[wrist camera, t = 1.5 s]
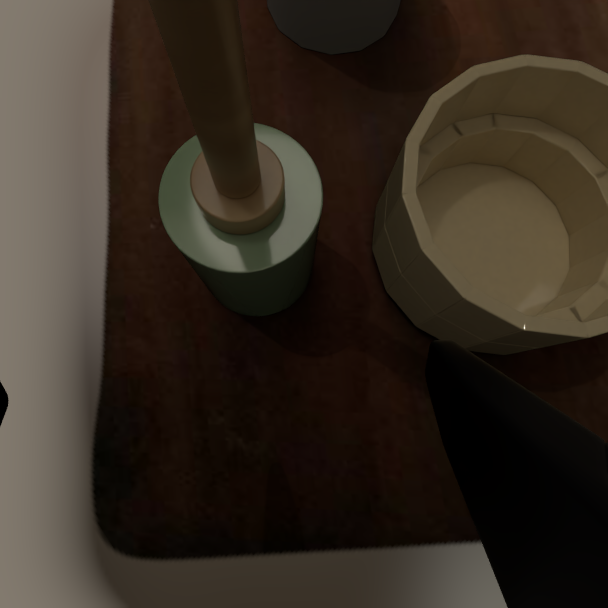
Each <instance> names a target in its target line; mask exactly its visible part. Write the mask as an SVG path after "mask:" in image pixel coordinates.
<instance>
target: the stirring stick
mask: <svg viewBox="0 0 608 608" xmlns="http://www.w3.org/2000/svg"><path fill="white" fill-rule="evenodd" d="M149 3H150V6H151V9H152V11H153V14H154V17H155V20H156V23H157V25H158V28H159V31H160V34H161V37H162V39H163V42H164V45H165V48H166V51H167V53H168V56H169V59H170V62H171V65H172V67H173V70H174V73H175V76H176V79H177V81H178V84H179V87H180V90H181V93H182V95H183V98H184V101H185V104H186V107H187V109H188V112H189V115H190V118H191V121H192V123H193V126H194V129H195V132H196V135H197V137H198V140H199V143H200V146H201V149H202V152H201V153H200V154H199V156H198V157H197V159H196V160H195V162H194V164H193V167H192V170H191V174H190V187H191V191H192V194H193V197H194V199H195V201H196V203H197V205H198V207H199V209H200V211H201V213H202V215H203V216H204V218H205V219H206V220H207V221H208V222H209V223H210V224H211V225H212V226H214V227H215V228H217V229H219V230H221V231H223V232H226V233H230V234H239V235H241V234H250V233H254V232H257V231H259V230H261V229H263V228H265V227H267V226H268V225H269V224H270V223H272V222H273V221H274V220H275V219H276V217H277V216H278V215H279V213H280V211H281V209H282V207H283V204H284V199H285V177H284V170H283V167H282V164H281V162H280V160H279V158H278V157H277V155H276V154H275V153H274V152H273V151H272V150H271V149H270V148H269V147H268V146H267V145H265V144H263V143H262V142H260V141H258V140H256V136H255V129H254V121H253V114H252V107H251V99H250V92H249V84H248V77H247V70H246V62H245V55H244V48H243V40H242V33H241V25H240V18H239V11H238V3H237V0H149Z"/></svg>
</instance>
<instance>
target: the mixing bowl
mask: <svg viewBox="0 0 608 608" xmlns="http://www.w3.org/2000/svg"><path fill="white" fill-rule="evenodd" d="M372 250H373V253H374V256H375V259H376V262H377V265H378V268H379V271H380V274H381V277H382V280H383V283H384V286H385V289H386V291H387V293H388V294H389V295H390V296H391V298H392V299H393V300H394V301H395V302H396V303H397V305H398V306H399V307H400V308H401V309H402V311H403V312H404V313H405V314H406V315H407V316H408V318H409V319H410V320H411V321H412V322H413V323H414V325H415V326H417V327H418V328H419V329H421V330H423V331H425V332H427V333H429V334H430V335H432V336H434V337H436V338H438V339H440V340H453V341H454V342H456V343H457V344H459V345H461V346H462V347H464V348H465V349H467V350H468V351H474V352H483V353H491V354H499V355H508V354H513V353H518V352H523V351H528V350H533V349H538V348H543V347H547V346H552V345H557V344H562V343H567V342H572V341H576V340H581V339H586V338H590V337H594V336H597V335H601V334H604V333H607V332H608V74H607V73H605V72H603V71H601V70H599V69H597V68H595V67H592V66H590V65H588V64H586V63H584V62H582V61H580V62H579V61H576V60H568V59H560V58H552V57H544V56H535V55H527V54H526V55H519V56H515V57H510V58H506V59H501V60H497V61H493V62H488V63H484V64H479V65H475V66H473V67H471V68H469V69H468V70H467V71H465V72H464V73H462V74H461V75H459V76H458V77H457V78H455V79H454V80H452V81H451V82H450V83H448V84H447V85H445V86H444V87H443V88H441V89H440V90H438V91H437V92H436V93H434V94H433V95H432V96H431V97H430V98H429V99H428V101H427V103H426V105H425V107H424V108H423V110H422V112H421V114H420V115H419V117H418V119H417V121H416V122H415V124H414V126H413V128H412V129H411V131H410V133H409V135H408V136H407V138H406V140H405V142H404V145H403V147H402V149H401V151H400V154H399V156H398V158H397V160H396V163H395V165H394V167H393V169H392V172H391V174H390V176H389V179H388V181H387V183H386V185H385V188H384V190H383V192H382V195H381V197H380V199H379V201H378V204H377V206H376V208H375V220H374V231H373V243H372Z"/></svg>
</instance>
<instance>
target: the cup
mask: <svg viewBox="0 0 608 608" xmlns="http://www.w3.org/2000/svg"><path fill="white" fill-rule="evenodd" d="M400 1H401V0H267V7H268V9H269V11H270V13H271V15H272V17H273V19H274V21H275V23H276V25H277V27H278V29H279V30H280V31H281V32H282V33H284V34H285V35H286V36H288V37H289V38H290V39H292V40H293V41H294V42H295V43H297V44H298V45H299V46H301V47H303V48H307V49H311V50H315V51H319V52H323V53H327V54H331V55H332V54H339V53H346V52H354V51H361V50H362V49H364V48H366V47H367V46H369V45H370V44H372V43H374V42H375V41H377V40H379V39H380V38H382V37H383V36H384V35H385V34H386V32H387V30H388V29H389V27H390V25H391V24H392V22H393V20H394V19H395V17H396V15H397V12H398V9H399V5H400Z"/></svg>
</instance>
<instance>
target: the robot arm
mask: <svg viewBox="0 0 608 608" xmlns="http://www.w3.org/2000/svg"><path fill="white" fill-rule="evenodd" d="M425 377H426V382H427V386H428V390H429V394H430V397H431V401H432V405H433V409H434V412H435V416H436V420H437V424H438V427H439V431H440V435H441V438H442V442H443V445H444V448H445V450H446V453H447V456H448V458H449V461H450V463H451V466H452V468H453V471H454V474H455V476H456V479H457V481H458V484H459V486H460V489H461V491H462V494H463V496H464V499H465V501H466V504H467V506H468V509H469V511H470V514H471V516H472V519H473V521H474V524H475V526H476V529H477V531H478V534H479V536H480V539H481V541H482V544H483V547H484V549H485V552H486V554H487V557H488V559H489V562H490V564H491V567H492V569H493V572H494V574H495V577H496V579H497V582H498V584H499V587H500V589H501V591H502V594H503V597H504V599H505V602H506V604H507V607H508V608H608V443H605V442H604V440H603V439H602V438H600V437H599V436H597V435H596V434H594V433H593V432H591V431H590V430H588V429H587V428H585V427H584V426H582V425H581V424H579V423H578V422H576V421H575V420H573V419H572V418H570V417H568V416H567V415H565V414H564V413H562V412H561V411H559V410H558V409H556V408H555V407H553V406H552V405H550V404H549V403H547V402H546V401H544V400H543V399H541V398H540V397H538V396H537V395H535V394H534V393H532V392H530V391H529V390H527V389H526V388H524V387H523V386H521V385H520V384H518V383H517V382H515V381H514V380H512V379H511V378H509V377H508V376H506V375H505V374H503V373H502V372H500V371H499V370H497V369H495V368H494V367H492V366H491V365H489V364H488V363H486V362H485V361H483V360H482V359H480V358H479V357H477V356H476V355H474V354H473V353H471V352H470V351H468V350H467V349H465V348H464V347H462V346H461V345H459V344H457V343H456V342H454V341H453V340H434V341H433V342H431V344H430V347H429V352H428V358H427V364H426V370H425ZM7 407H8V395H7V393H6V391H5V389H4V387H3V386H2V384H1V382H0V426H1V423H2V420H3V418H4V415H5V412H6V410H7Z"/></svg>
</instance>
